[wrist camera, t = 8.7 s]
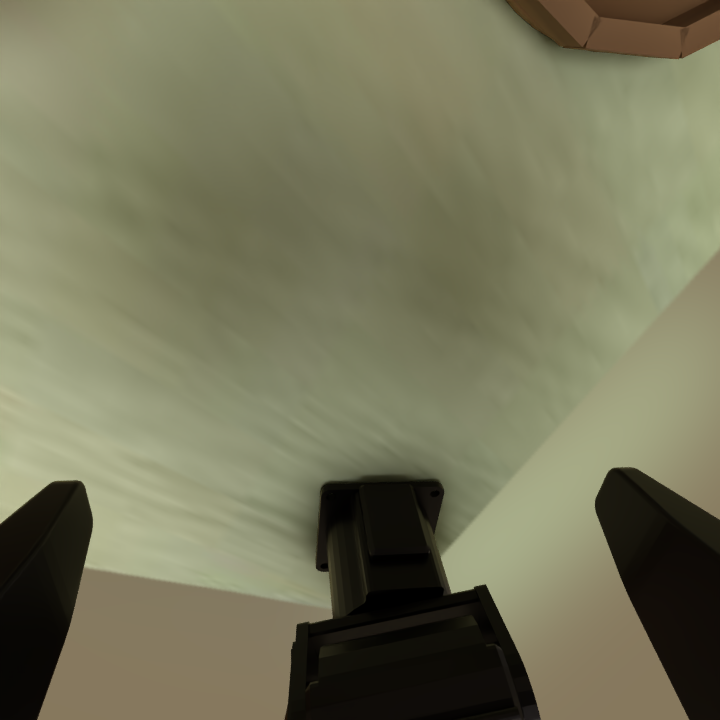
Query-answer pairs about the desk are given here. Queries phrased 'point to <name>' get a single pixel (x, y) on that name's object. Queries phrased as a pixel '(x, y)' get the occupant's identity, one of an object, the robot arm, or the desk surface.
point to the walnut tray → (626, 25)
